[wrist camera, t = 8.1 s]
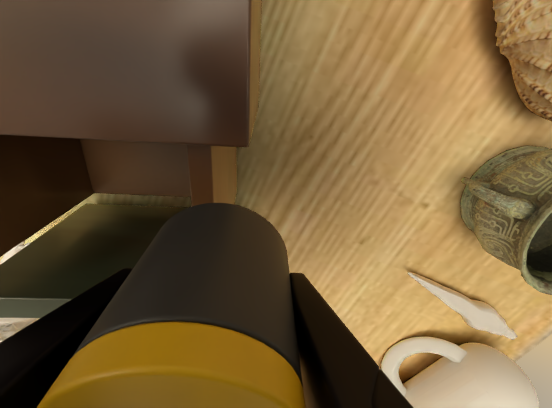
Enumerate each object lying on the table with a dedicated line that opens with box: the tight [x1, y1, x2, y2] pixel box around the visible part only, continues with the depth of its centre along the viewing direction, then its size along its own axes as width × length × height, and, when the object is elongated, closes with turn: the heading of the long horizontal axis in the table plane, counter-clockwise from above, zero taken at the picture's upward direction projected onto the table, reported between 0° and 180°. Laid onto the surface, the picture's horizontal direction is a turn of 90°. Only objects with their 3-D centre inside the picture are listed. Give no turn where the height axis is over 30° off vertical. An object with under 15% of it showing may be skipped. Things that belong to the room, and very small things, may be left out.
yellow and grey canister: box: [37, 203, 306, 408], centre depth 6 cm, size 4×4×5 cm
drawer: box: [0, 135, 237, 318], centre depth 13 cm, size 14×11×9 cm
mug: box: [381, 337, 539, 408], centre depth 26 cm, size 12×9×12 cm
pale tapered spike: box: [408, 272, 517, 340], centre depth 24 cm, size 15×3×2 cm, turn 56°
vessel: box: [460, 146, 552, 295], centre depth 18 cm, size 12×9×6 cm
